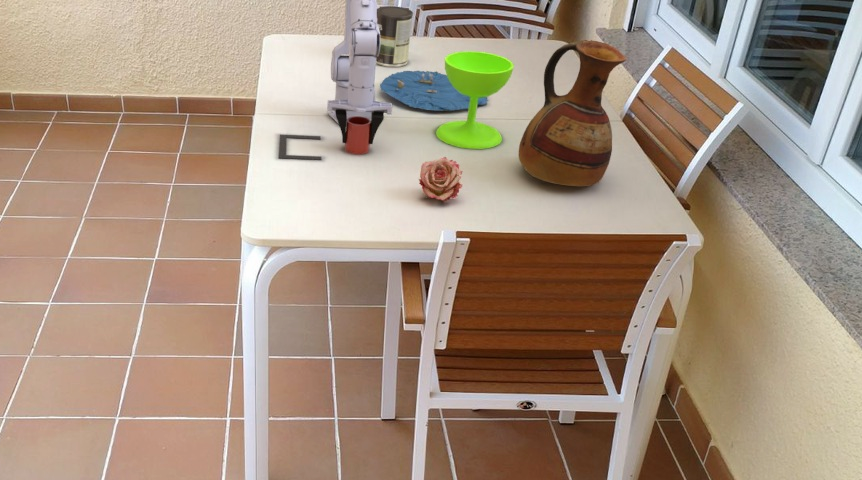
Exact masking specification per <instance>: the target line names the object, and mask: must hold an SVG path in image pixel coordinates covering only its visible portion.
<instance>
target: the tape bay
mask: <svg viewBox="0 0 862 480" xmlns="http://www.w3.org/2000/svg"><path fill="white" fill-rule="evenodd" d="M287 139H296V140H297V139H299V140H300V139H301V140H319V141H320V140H321V139H322V138H321V135H304V134H303V135H301V134H300V135H299V134H279V143H278V145H279V146H278V159H280V160H281V159H282V160H283V159H284V160H305V161H307V160H309V161H322V156H317V155H316V156H315V155H292V154H291V155H290V154H287Z"/></svg>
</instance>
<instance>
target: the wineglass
mask: <svg viewBox="0 0 862 480" xmlns="http://www.w3.org/2000/svg"><path fill="white" fill-rule="evenodd" d="M514 66H515V65H514V63H513V62H512V61H511V60H510V59H509V58H506V57H504V56H502V55H498V54H495V53H489V52H484V51H483V52H482V51H467V50H466V51H456V52H453V53H449V54H447V55H446V56H445V57H444V70H445V75H447V77H448V79H449V81H450V83H451V84H452V86H453V87H454V88H455V89H456V90H458V91H459V92H460V93H461V94H464V95H466V96H469V97H470V103H469V108H468V109H467V110H468V111H467V118H466V120H452V121H449V122H445V123H443V124H441V125H440V126H439V127H437V129H436V132H435V135H436V138H438V139H439V141H441V142H444V143H445V144H447V145H450V146H452V147H457V148H461V149H468V150H484V149H491V148H494V147H497V146H498V145H500V144H501V143H502V139H503V137H502V135H501V133H500V131H498V130H497V129H496V128H495V127H493V126H491V125H488V124H486V123H483V122H478V121H476V117H477V116H476V115H477V110H478V105H477V103H478V98H481V97H487V98H488V97H490V96H492V95H494V94H496V93H498V92H499V91H500V90H501V89H502V88H504V86H506V85H507V83H508V81H510V79H511V76H512V73H513V70H514Z"/></svg>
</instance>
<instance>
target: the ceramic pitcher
mask: <svg viewBox="0 0 862 480" xmlns="http://www.w3.org/2000/svg"><path fill="white" fill-rule="evenodd" d="M569 51H575V52H576V53H578V57H579V71H578V74H577V76H576V79H575V81H574V84H573V85H572V87H571V89H570V90H569V91H568V92H567V93H566V94H563V95H558V94H557V93H556V91H555V71H556V67H557V65H558V63H559V62H560V60H561V59H562V57H563V56H564V55H565V54H566V53H567V52H569ZM626 60H627V57H626V56H625V55H624V54H623V53H621V52H620V50H619V49H617V48H616V47H614V46H612V45H610V44H608V43H606V42H602V41H598V40H592V39H590V40H587V39H583V40H582V39H581V40H578V41H576V42H570V43H567V44H563V45H562V46H559V48H557V49H556V50H555V51H554V52H553V53H552V55H551V56H550V58H549V60H548V62H547V63H546V66H545V68H544V73H543V90H544V103H543V106H542V107H541V108H540V109H539V111H537V112H536V113H535V115H534V116H533V118H531V120H530V121H529V123H528V124H527V125H526V128H525V130H524V132H523V134H522V137H521V139H520V142H519V145H518V161H519V163H520V164H521V166H522V167H523V168H524V169H525V171H526V172H527V173H528V174H529V175H530V176H532V177H534V178H536V179H538V180H540V181H542V182H547V183H551V184H555V185H560V186H561V185H562V186H567V187H569V186H570V187H585V186H587V187H589V186H594V185H596V184H598V183H600V182H601V180H602V179H603V178H604V175H605V174H606V171H607V170H608V167H609V164H610V161H611V157H612V152H613V129H612V124H611V121H610V117H609V115H608V114H607V112H606V110H605V109H604V108H603V106H602V98H603V97H602V96H603V91H604V88H605V87H606V85H607V83H608V80H609V77H610V74H611V72H612V71H613V70H614V69H615V68H616V67H617V66H619V65H621V64H623V63H625V62H626Z"/></svg>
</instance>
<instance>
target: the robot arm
mask: <svg viewBox="0 0 862 480" xmlns="http://www.w3.org/2000/svg"><path fill="white" fill-rule="evenodd" d="M377 5H378V4H377V0H345V12H344V13H345V14H344V36H343V40H342V41H341V42H340V43H338V44H337V45H335V46H334V47H333V48H332V52H331V58H330V80H331V81H332V82H333V83H335V95H334V100H332V99H331V100H329V99H328V100H327V106H326V107H327V108H326V111H327V115H328V116H329V117H330V118H332V119H333V121H335V122H336V123H337V124H338V126H339V128H340V129H339V130H340V132H341V141H342V144H345V143H346V122H347V119H348V118H349V117H354V116H361V117H366V118H368V119H370V120H371V133H370V145H373V144H374V140H375V136H376V135H377V132H378V129H379V127H380V126H381V125H382V123H383V121H384V119H385V115H384V114H387V115H392V114H393V104H392V102H384V101H378V100H376V90H375V79H376V69H377V66H376V65H377V64H376V56H375V55H377V57H378V56H379V52H380V44H381V38H380V30H379V25H378V24H377V9H378V8H377V7H378V6H377Z"/></svg>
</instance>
